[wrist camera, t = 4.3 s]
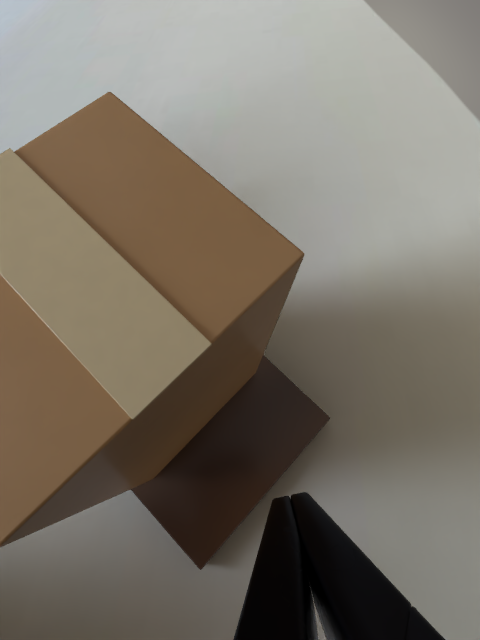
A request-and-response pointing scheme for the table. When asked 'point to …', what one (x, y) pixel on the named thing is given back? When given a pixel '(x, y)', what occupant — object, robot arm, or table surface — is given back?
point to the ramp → (232, 462)
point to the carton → (120, 310)
